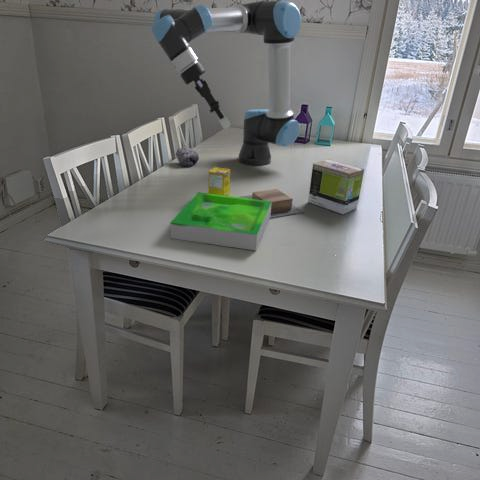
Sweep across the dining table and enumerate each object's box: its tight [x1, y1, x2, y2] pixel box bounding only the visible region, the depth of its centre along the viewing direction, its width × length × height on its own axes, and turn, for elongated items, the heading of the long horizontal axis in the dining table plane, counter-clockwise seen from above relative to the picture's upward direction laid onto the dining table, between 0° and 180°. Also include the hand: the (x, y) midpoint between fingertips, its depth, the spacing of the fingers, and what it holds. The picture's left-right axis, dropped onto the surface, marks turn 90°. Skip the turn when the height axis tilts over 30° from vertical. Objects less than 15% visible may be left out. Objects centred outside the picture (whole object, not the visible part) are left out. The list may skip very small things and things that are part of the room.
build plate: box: [240, 188, 304, 220], centre depth 146 cm, size 20×16×4 cm
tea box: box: [308, 159, 365, 215], centre depth 147 cm, size 15×10×15 cm, turn 45°
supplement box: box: [207, 166, 231, 196], centre depth 147 cm, size 6×6×11 cm
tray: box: [170, 191, 272, 251], centre depth 128 cm, size 25×25×5 cm
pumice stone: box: [175, 146, 200, 168], centre depth 183 cm, size 10×8×10 cm
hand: (226, 125), depth 139 cm, fingers open, 13 cm apart
